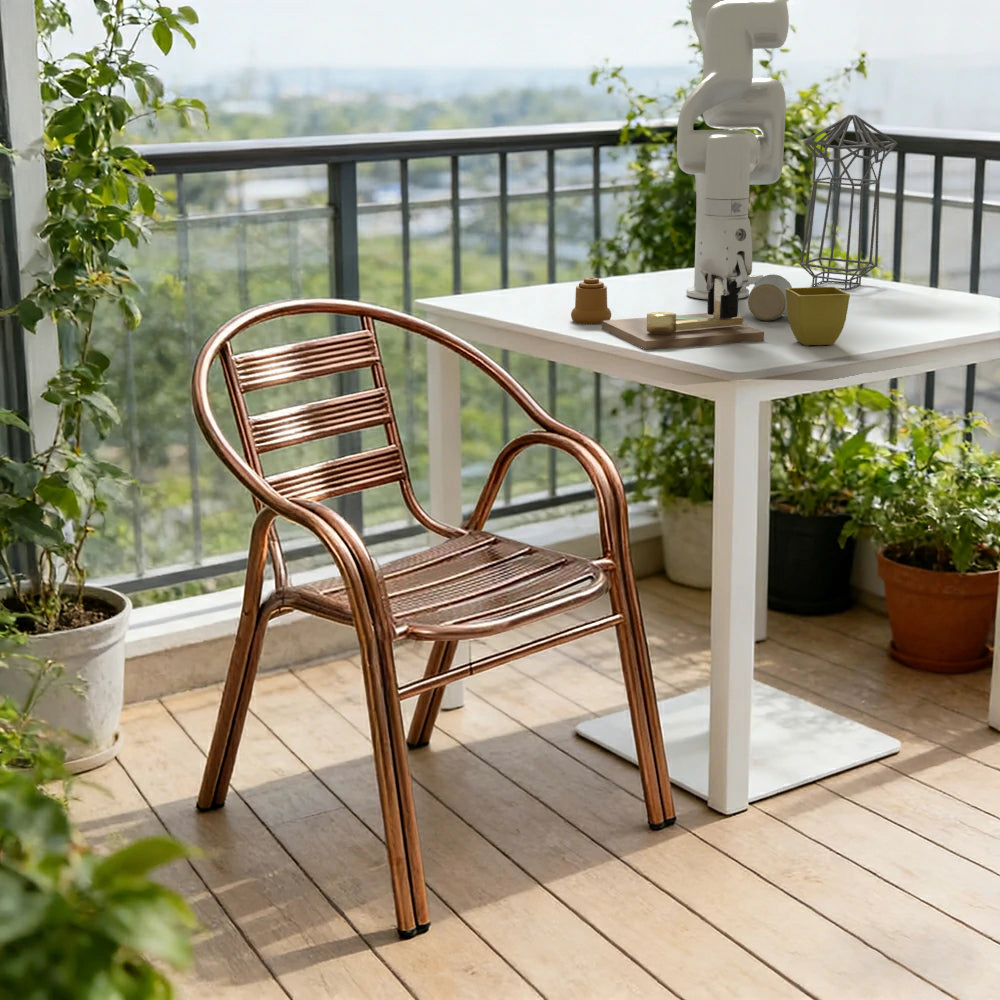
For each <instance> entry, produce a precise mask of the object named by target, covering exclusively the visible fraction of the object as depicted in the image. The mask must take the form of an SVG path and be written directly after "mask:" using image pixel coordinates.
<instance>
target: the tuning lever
mask: <svg viewBox="0 0 1000 1000" xmlns="http://www.w3.org/2000/svg"><path fill="white" fill-rule="evenodd" d="M732 281H733V280H729V285H730V283H731V282H732ZM721 295H724V294H723V277H715V281H714V312H713V318H707V319H696V320H685V321H676V315H677V313H675V312H670V311H669V312H667V311H656V312H655V311H654V312H648V313H647V314H646V318H647V332H650V333H658V334H665V333H673V332H676V331H678V330H689V329H699V328H710V327H721V326H732V325H742V324H744V317H743V316H740V315H737V317H734V318H724V319H723V318H721V317H720V306H721Z"/></svg>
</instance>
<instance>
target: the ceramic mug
mask: <svg viewBox="0 0 1000 1000" xmlns="http://www.w3.org/2000/svg"><path fill="white" fill-rule="evenodd" d="M786 288H793V287H792V285H791V283H790V281H788V279H786V278H784V277H783V276H781V275H780V274H779V275H778V274H767V275H763V277H762V278H761V279H759V280H758V281H757V283H756V284H755V285H754V286H753V287H752V289H751V290H750V291H749V295H748V296H747V306H748V310H749V311H750V313H751V315H753V316H754V317H755V319H758V320H760V321H763V322H770V321H775V320H777V319H779V318H781V316H782V315H783V316H785V317H786V318H788V314H787V301H786Z"/></svg>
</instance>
